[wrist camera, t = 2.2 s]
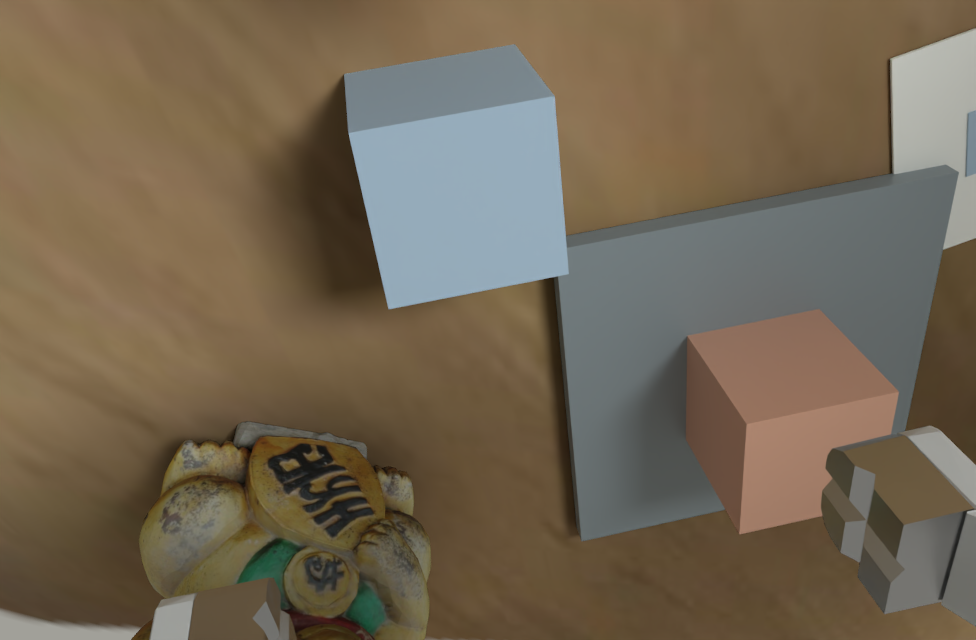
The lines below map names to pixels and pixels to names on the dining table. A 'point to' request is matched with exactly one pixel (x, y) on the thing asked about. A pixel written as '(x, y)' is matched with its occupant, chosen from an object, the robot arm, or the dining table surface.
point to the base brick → (779, 413)
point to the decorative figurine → (293, 532)
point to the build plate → (729, 321)
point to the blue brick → (458, 173)
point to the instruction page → (939, 120)
